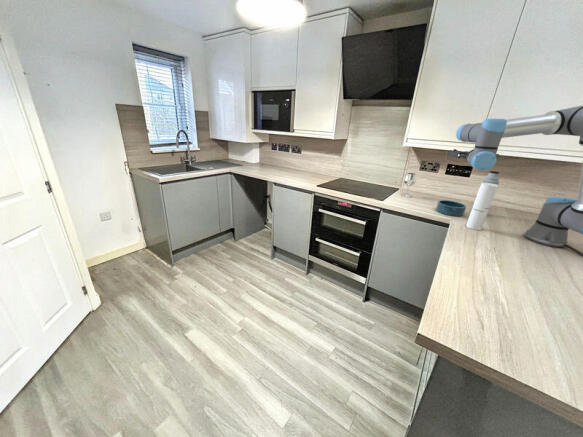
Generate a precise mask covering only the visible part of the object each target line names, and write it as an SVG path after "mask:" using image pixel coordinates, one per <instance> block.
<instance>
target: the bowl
mask: <svg viewBox="0 0 583 437" xmlns="http://www.w3.org/2000/svg"><path fill="white" fill-rule="evenodd" d="M466 209H467V205H466V204H464V203H463V202H459V201H454V200H447V199H441V200H438V201H437V204H436V208H435V210H436V211H437V212H439V213H441V214H443V215H446V216H452V217H460V216H461V217H462V216H464V215H465V212H466Z"/></svg>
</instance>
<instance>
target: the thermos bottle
mask: <svg viewBox="0 0 583 437" xmlns="http://www.w3.org/2000/svg"><path fill="white" fill-rule="evenodd" d="M500 173H501V172H499V171H495V170H489V173H488V175H486V176H485V177H484V179H482V182H481V183H491V184H496V185H498V186H499V184H500V181H499V180H500V177H499V175H500Z"/></svg>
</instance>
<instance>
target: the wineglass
mask: <svg viewBox="0 0 583 437" xmlns="http://www.w3.org/2000/svg"><path fill="white" fill-rule="evenodd" d="M416 181H417V175H416V173H413V172H407V173H406V175H405V177H404V180H403V182H404V184H405V186H406V187H407V188H406V193H405V194H401V197H404V198H411V195H409V194H408V193H409V188H410V187H411V186H414V185H415V184H416V183H417V182H416Z"/></svg>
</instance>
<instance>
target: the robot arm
mask: <svg viewBox="0 0 583 437" xmlns="http://www.w3.org/2000/svg"><path fill="white" fill-rule="evenodd" d="M539 134H542V135H544V136H552V135H562V136H572V137H574V136H575V137H579V139H578V140H579V141H578V145H580V146H581V147H583V105H578V106H572V107H569V108H561V109H557V110H551V111H549V112H545V113H544V114H538V115H532V116H524V117H516V118H509V119H508V118H507V119H506V118H484V119H483V121H482V122H477V123H464V124H462V125H460V126H459V127H458V128H457V129H456V132H455V138H456V139H457V140H458V141H460V142H463V143H474V148H473V149H471V150H469V151H467V150H466V151H465V150H464V151H461V150H458V149H457V148H454V149H453V150H452V149H449V150H448V153H447V156H448V157H454V158H457V159H461V158H462V159H464V160H466V162H467V163H468V164H469V165H470V166H471V167H472V168H473V169H475V170H478V171H487V170H489V169H492V168H493V167H494V166H495V165H496V163H497V160H499V157H500V154H499V153H498V150H499V146H500V144H501V141H502V139H504V138H513V137H523V136H530V135H539ZM569 230H571V231H574V232H576V233H578V234H581V235H583V161H582V163H581V171H580V179H579V186H578V192H577V198H574V197H565V196H549V197H547V198H546V200H545V202H544V203H543V205H542V207H541V210H540V212H539V214H538V216H537V218H536V220H535V223H534V224H532V225H531V226H530V227H529V228H528V229H527V230H526V231H525V233H524V237H525V238H526V239H528V240H530V241H531V242H534V243H537V244H540V245H544V246H547V247H553V248H565V247H566V248H567V249H570V250H571V251H573V252H574V253H577V254H579V255H581V256H582V257H583V252H581V251H579V250H578V249H576V248H574V247H572V246H570V245H568V237H569Z"/></svg>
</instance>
